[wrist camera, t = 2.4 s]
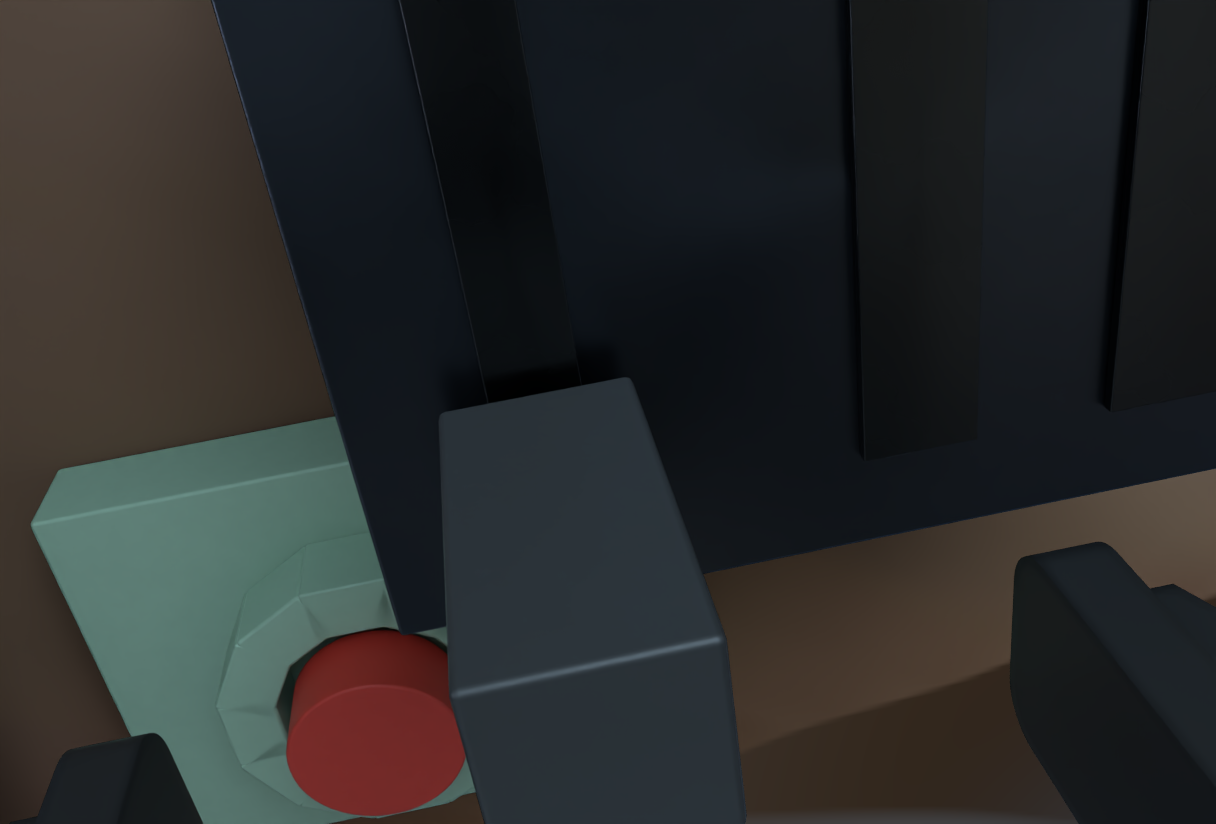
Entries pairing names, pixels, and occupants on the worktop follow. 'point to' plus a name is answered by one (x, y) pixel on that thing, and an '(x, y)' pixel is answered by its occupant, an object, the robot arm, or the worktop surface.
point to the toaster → (752, 246)
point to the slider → (581, 619)
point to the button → (374, 724)
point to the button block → (221, 600)
